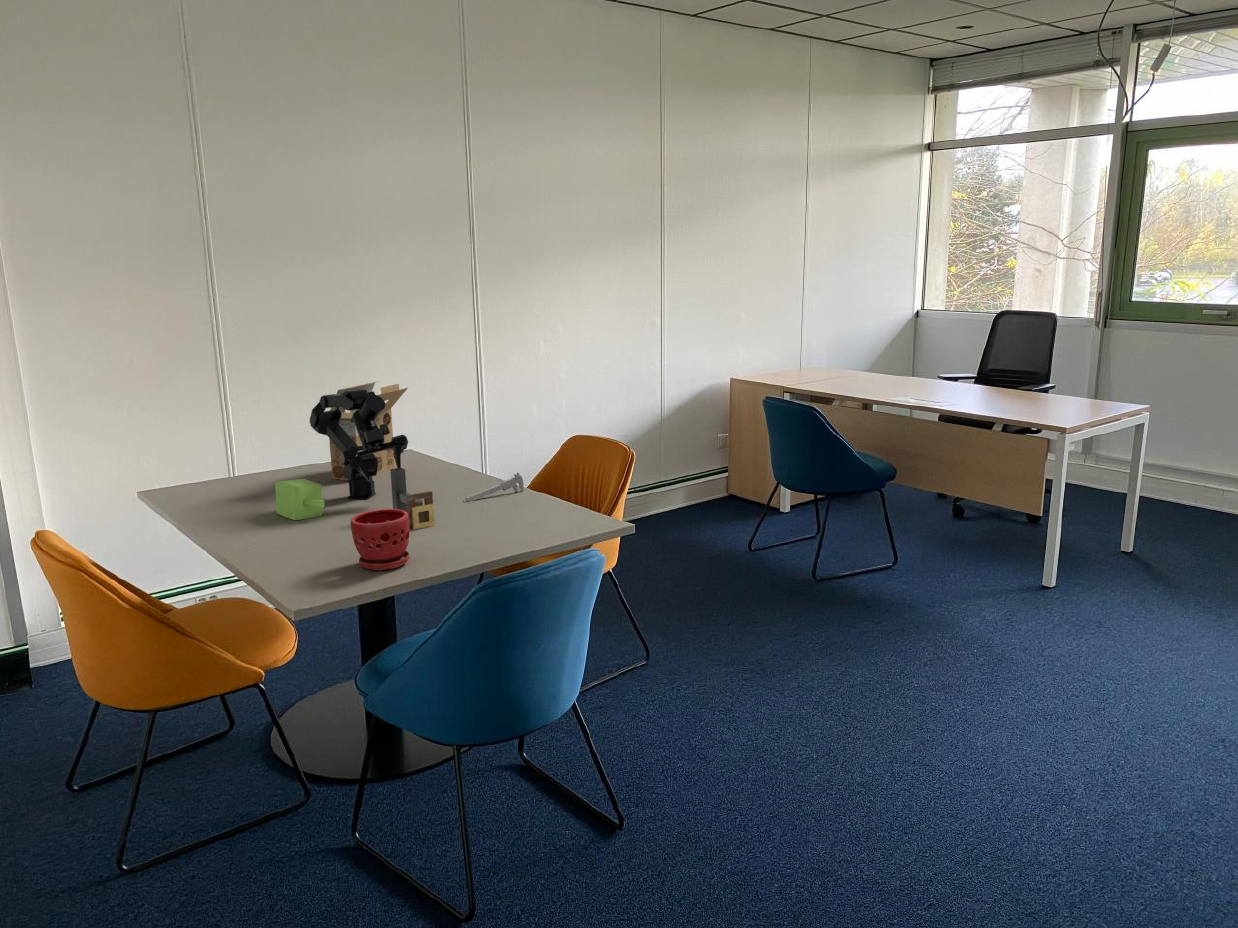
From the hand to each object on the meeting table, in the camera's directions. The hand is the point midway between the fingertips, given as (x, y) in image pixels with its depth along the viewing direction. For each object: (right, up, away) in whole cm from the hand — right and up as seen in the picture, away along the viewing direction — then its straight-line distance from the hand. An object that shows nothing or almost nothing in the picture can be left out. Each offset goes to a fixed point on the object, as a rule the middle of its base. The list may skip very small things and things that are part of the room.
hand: (384, 475), depth 268 cm
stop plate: (+14, -13, -17) cm, 26 cm away
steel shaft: (+10, -12, -12) cm, 20 cm away
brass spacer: (+15, -13, -19) cm, 28 cm away
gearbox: (-21, -11, -6) cm, 25 cm away
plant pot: (+12, -20, -49) cm, 55 cm away
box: (-15, 0, +44) cm, 46 cm away
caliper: (+30, -7, +12) cm, 33 cm away
